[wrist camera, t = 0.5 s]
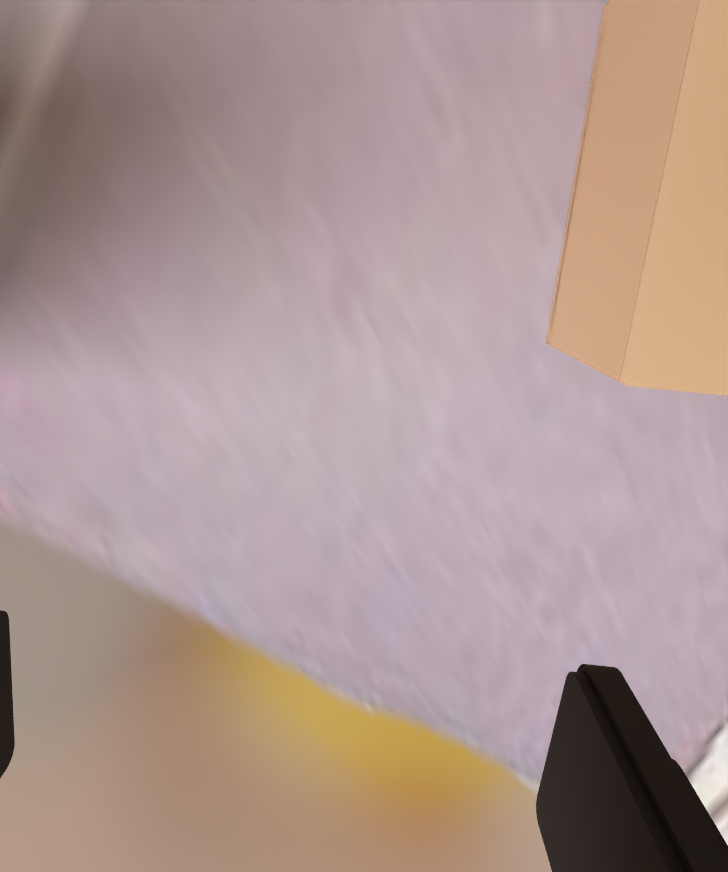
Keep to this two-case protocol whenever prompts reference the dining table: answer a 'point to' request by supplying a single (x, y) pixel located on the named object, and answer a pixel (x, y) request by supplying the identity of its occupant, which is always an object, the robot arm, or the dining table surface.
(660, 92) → the carton
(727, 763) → the dining table surface
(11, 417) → the dining table surface
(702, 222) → the carton lid
